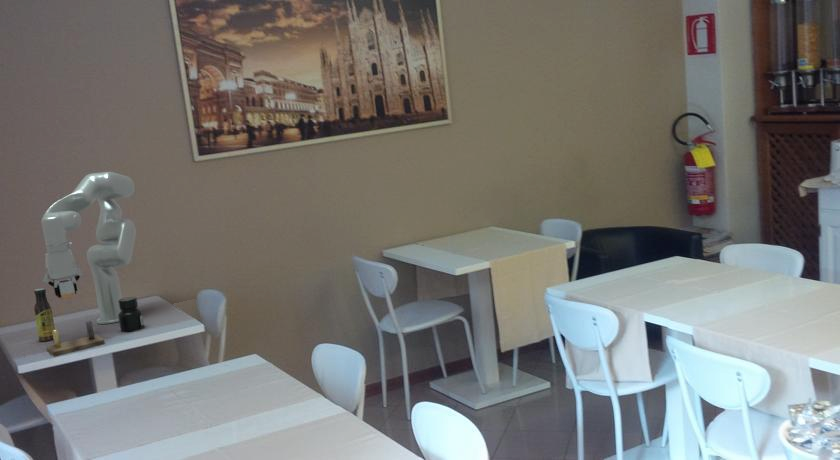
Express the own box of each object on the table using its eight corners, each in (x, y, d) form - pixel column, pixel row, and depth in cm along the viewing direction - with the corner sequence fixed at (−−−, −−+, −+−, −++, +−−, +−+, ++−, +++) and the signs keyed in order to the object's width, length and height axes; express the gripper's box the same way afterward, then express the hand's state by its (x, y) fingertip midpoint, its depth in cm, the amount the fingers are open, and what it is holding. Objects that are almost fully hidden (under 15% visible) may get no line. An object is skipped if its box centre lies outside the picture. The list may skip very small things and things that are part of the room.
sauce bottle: (45, 342, 347) (36, 291, 343) (35, 341, 350) (26, 291, 347) (60, 337, 352) (51, 287, 349) (50, 336, 355) (41, 287, 352)
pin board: (96, 338, 344) (92, 317, 342) (104, 343, 334) (101, 322, 332) (46, 350, 334) (42, 329, 333) (53, 356, 324) (49, 334, 323)
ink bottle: (149, 327, 352) (144, 297, 350) (128, 333, 345) (123, 302, 343) (136, 324, 358) (131, 295, 356) (116, 330, 352) (110, 300, 350)
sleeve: (72, 294, 345) (69, 278, 344) (75, 295, 341) (72, 280, 340) (58, 297, 342) (55, 281, 341) (61, 299, 338) (58, 283, 337)
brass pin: (61, 350, 332) (57, 329, 331) (62, 351, 330) (58, 329, 329) (55, 351, 331) (51, 330, 330) (56, 352, 329) (52, 331, 328)
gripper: (78, 242, 346) (87, 288, 349) (31, 252, 337) (41, 299, 340) (83, 244, 340) (92, 291, 343) (35, 254, 331) (45, 302, 334)
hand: (66, 294), depth 342 cm, fingers closed on sleeve, 5 cm apart
